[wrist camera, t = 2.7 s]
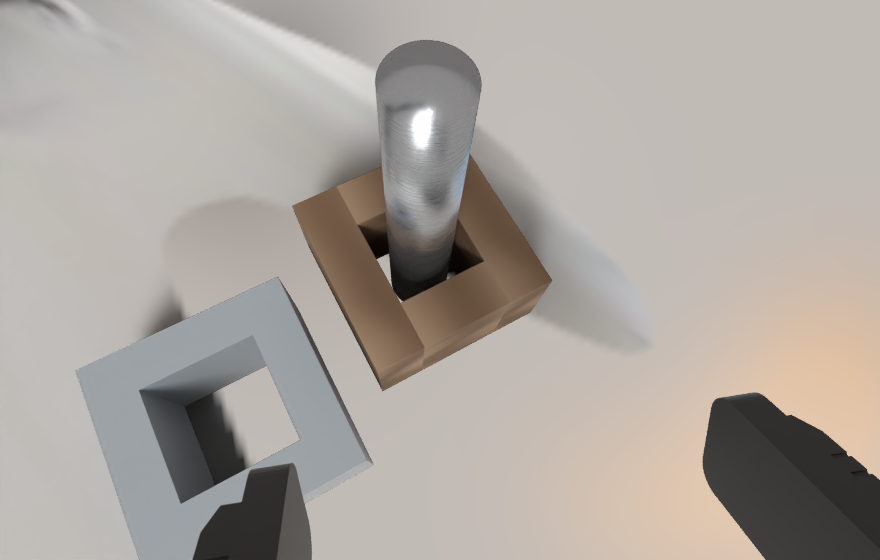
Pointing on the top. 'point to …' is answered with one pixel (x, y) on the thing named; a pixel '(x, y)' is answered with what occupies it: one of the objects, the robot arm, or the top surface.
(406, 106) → the steel axle
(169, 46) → the top surface
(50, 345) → the top surface
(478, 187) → the wooden square frame
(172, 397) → the socket block
